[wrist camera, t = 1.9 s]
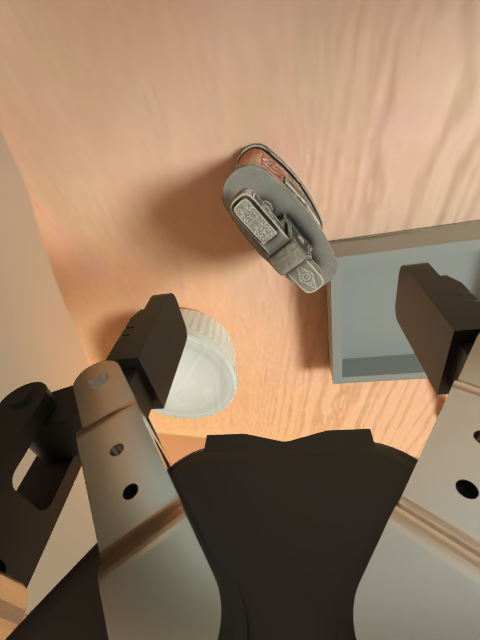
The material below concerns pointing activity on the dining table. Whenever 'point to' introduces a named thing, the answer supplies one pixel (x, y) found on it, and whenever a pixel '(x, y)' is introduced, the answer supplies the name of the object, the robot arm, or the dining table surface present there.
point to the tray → (388, 296)
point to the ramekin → (202, 370)
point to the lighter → (279, 217)
